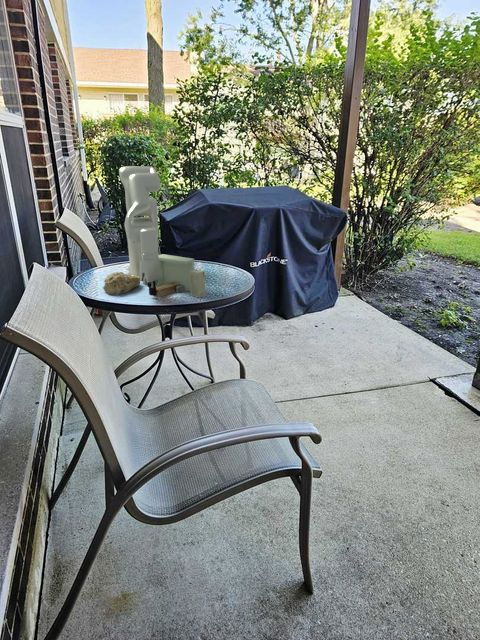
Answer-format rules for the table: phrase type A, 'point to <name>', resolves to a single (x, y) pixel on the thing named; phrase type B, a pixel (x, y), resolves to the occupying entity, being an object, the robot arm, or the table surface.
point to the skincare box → (197, 283)
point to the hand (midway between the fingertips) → (152, 294)
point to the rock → (120, 283)
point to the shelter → (176, 271)
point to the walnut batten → (166, 289)
